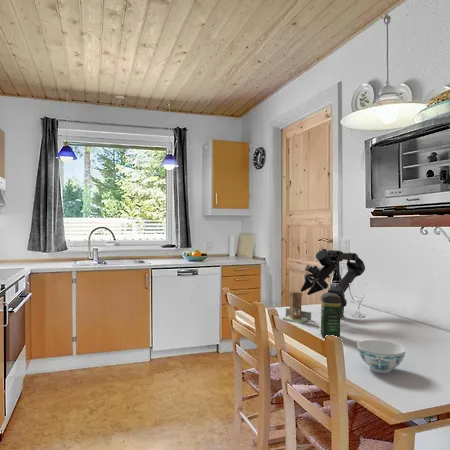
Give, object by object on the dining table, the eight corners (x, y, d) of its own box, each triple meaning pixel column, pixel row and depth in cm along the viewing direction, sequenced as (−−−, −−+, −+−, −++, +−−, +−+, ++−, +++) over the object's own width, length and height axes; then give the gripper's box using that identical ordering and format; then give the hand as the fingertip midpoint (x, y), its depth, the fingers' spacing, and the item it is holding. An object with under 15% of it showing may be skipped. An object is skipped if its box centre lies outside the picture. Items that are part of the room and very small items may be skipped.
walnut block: (297, 317, 203) (298, 291, 203) (301, 319, 198) (301, 292, 198) (289, 317, 202) (289, 291, 202) (292, 319, 198) (293, 293, 198)
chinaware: (348, 369, 134) (348, 345, 134) (369, 358, 144) (369, 337, 144) (393, 382, 123) (394, 357, 123) (412, 370, 134) (412, 347, 134)
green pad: (307, 320, 200) (307, 318, 200) (300, 323, 194) (300, 321, 194) (290, 317, 206) (290, 315, 206) (282, 319, 201) (282, 317, 201)
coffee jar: (342, 340, 167) (342, 295, 167) (322, 339, 168) (323, 294, 168) (337, 333, 177) (338, 291, 177) (319, 333, 178) (320, 291, 177)
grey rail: (311, 320, 201) (311, 312, 201) (310, 320, 200) (310, 312, 200) (287, 315, 210) (287, 308, 210) (285, 316, 209) (285, 308, 209)
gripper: (308, 257, 211) (287, 278, 209) (322, 261, 193) (299, 284, 191) (322, 272, 212) (301, 293, 211) (337, 277, 194) (315, 300, 192)
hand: (304, 292), depth 201 cm, fingers open, 9 cm apart
